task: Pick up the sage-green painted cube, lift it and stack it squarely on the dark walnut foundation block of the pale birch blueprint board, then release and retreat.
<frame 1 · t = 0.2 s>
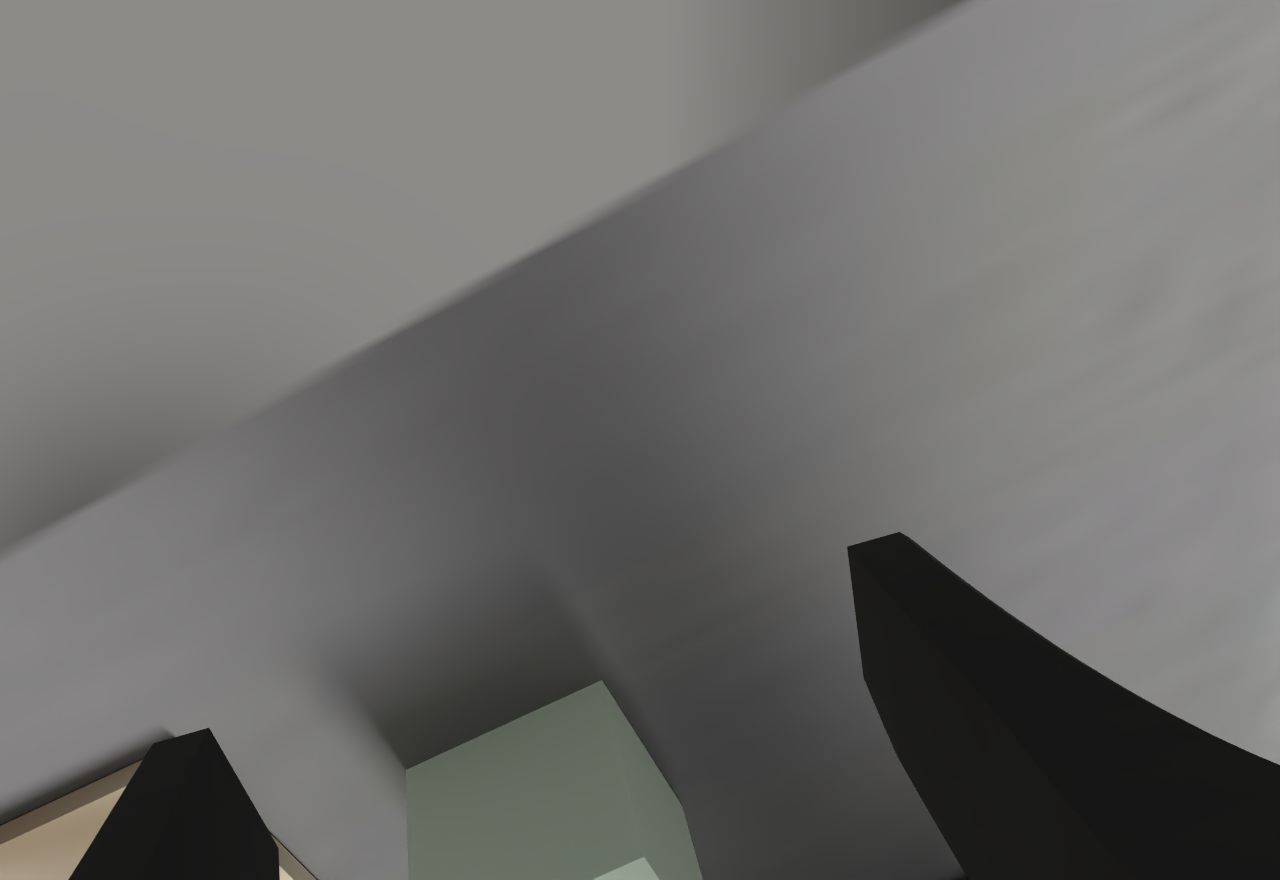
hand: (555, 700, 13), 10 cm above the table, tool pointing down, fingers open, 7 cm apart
sage cube: (549, 786, 28), on the table
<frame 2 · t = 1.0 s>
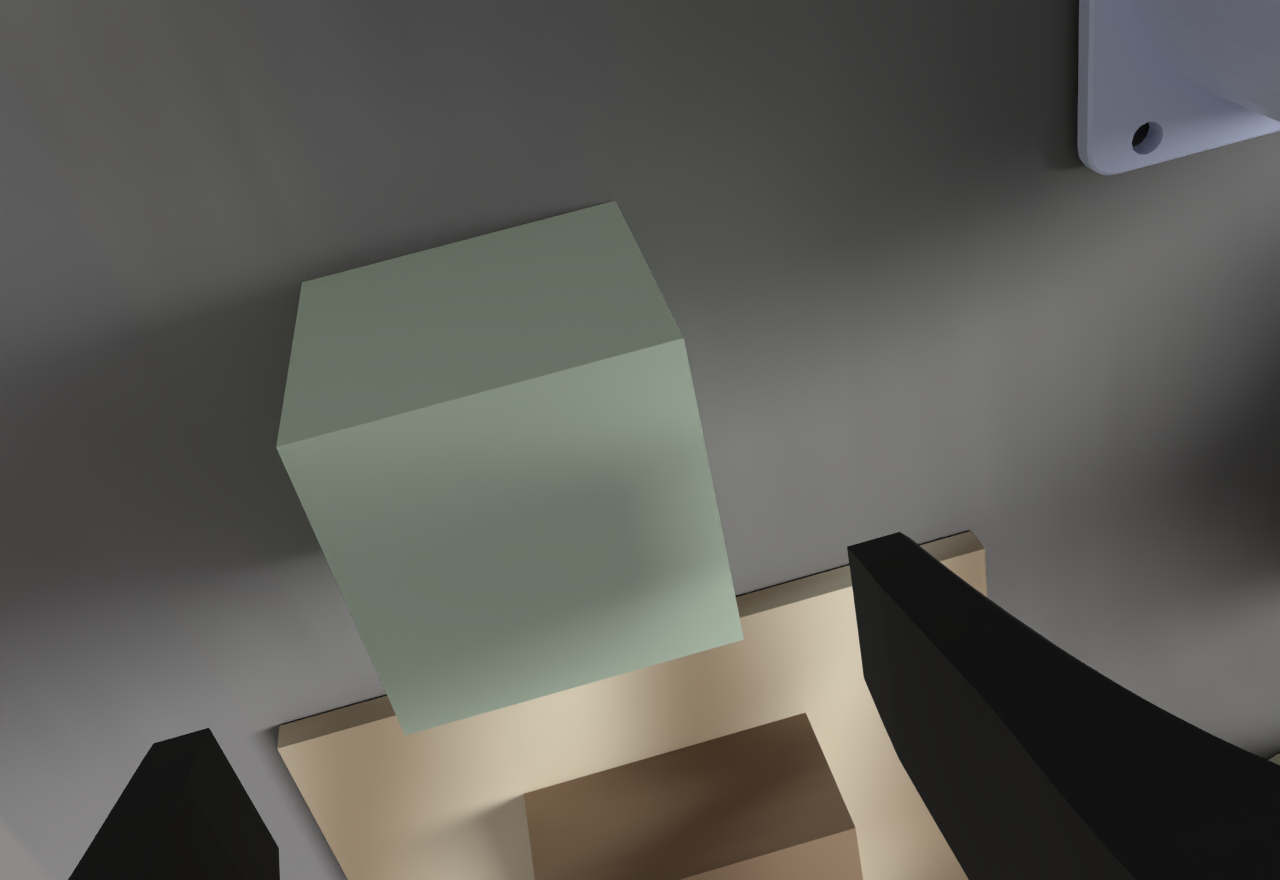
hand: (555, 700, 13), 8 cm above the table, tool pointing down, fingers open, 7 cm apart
sage cube: (501, 375, 19), on the table
baseplate: (684, 823, 26), on the table
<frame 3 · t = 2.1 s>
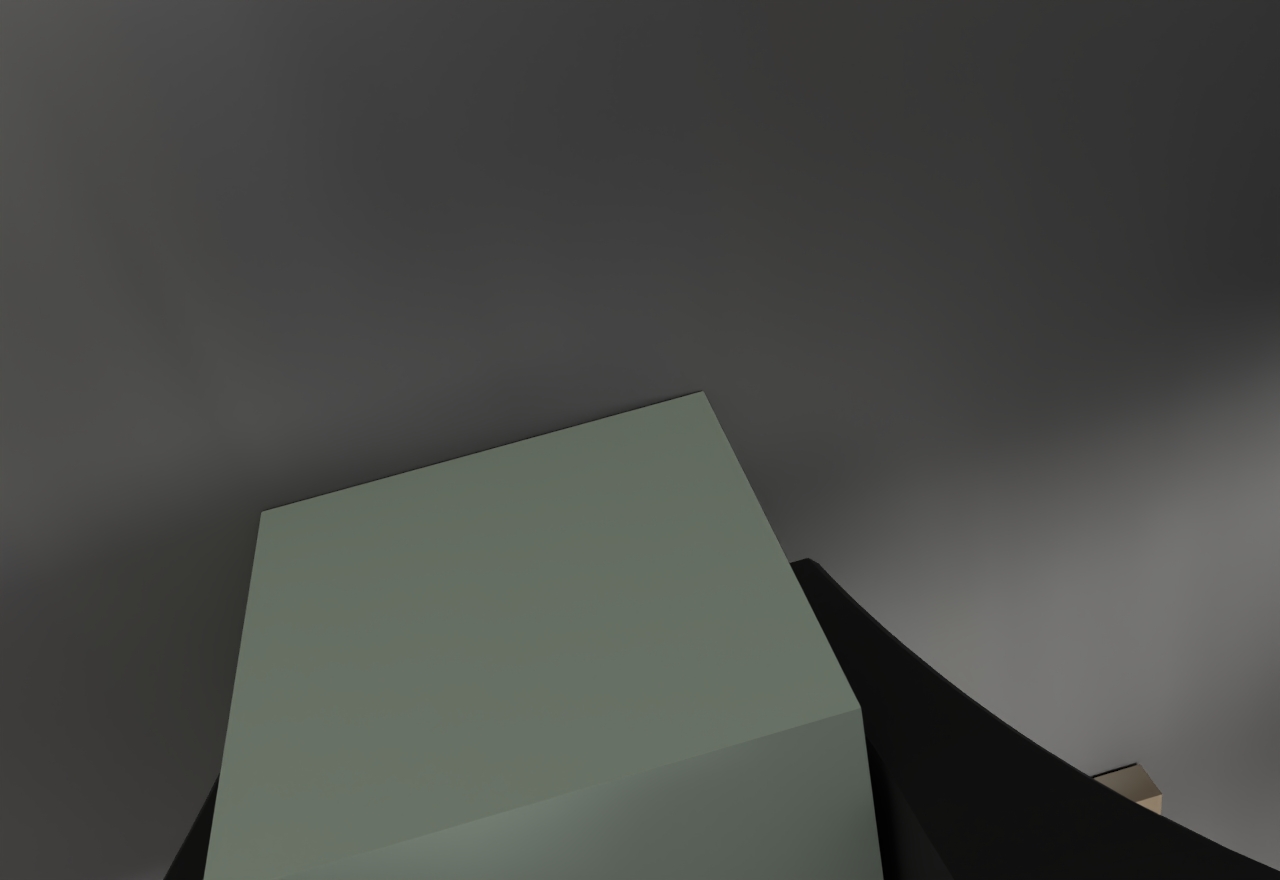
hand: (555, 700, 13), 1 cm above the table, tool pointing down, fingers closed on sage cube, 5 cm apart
sage cube: (539, 618, 14), on the table, touching gripper
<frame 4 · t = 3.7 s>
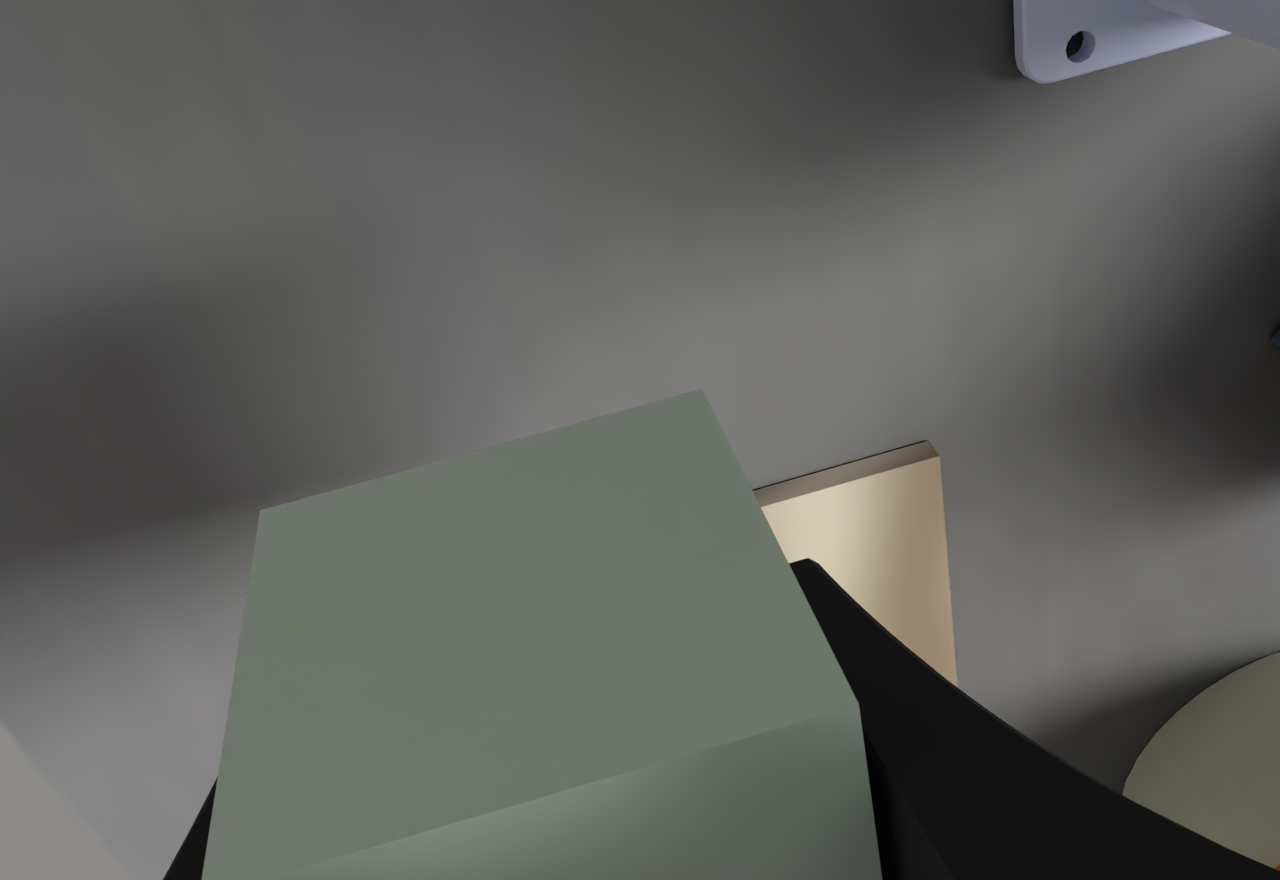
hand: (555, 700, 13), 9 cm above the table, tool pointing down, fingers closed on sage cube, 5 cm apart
reusable coffee cup: (1266, 759, 32), on the table
sage cube: (538, 616, 14), point 8 cm above the table, touching gripper
baseplate: (659, 734, 27), on the table
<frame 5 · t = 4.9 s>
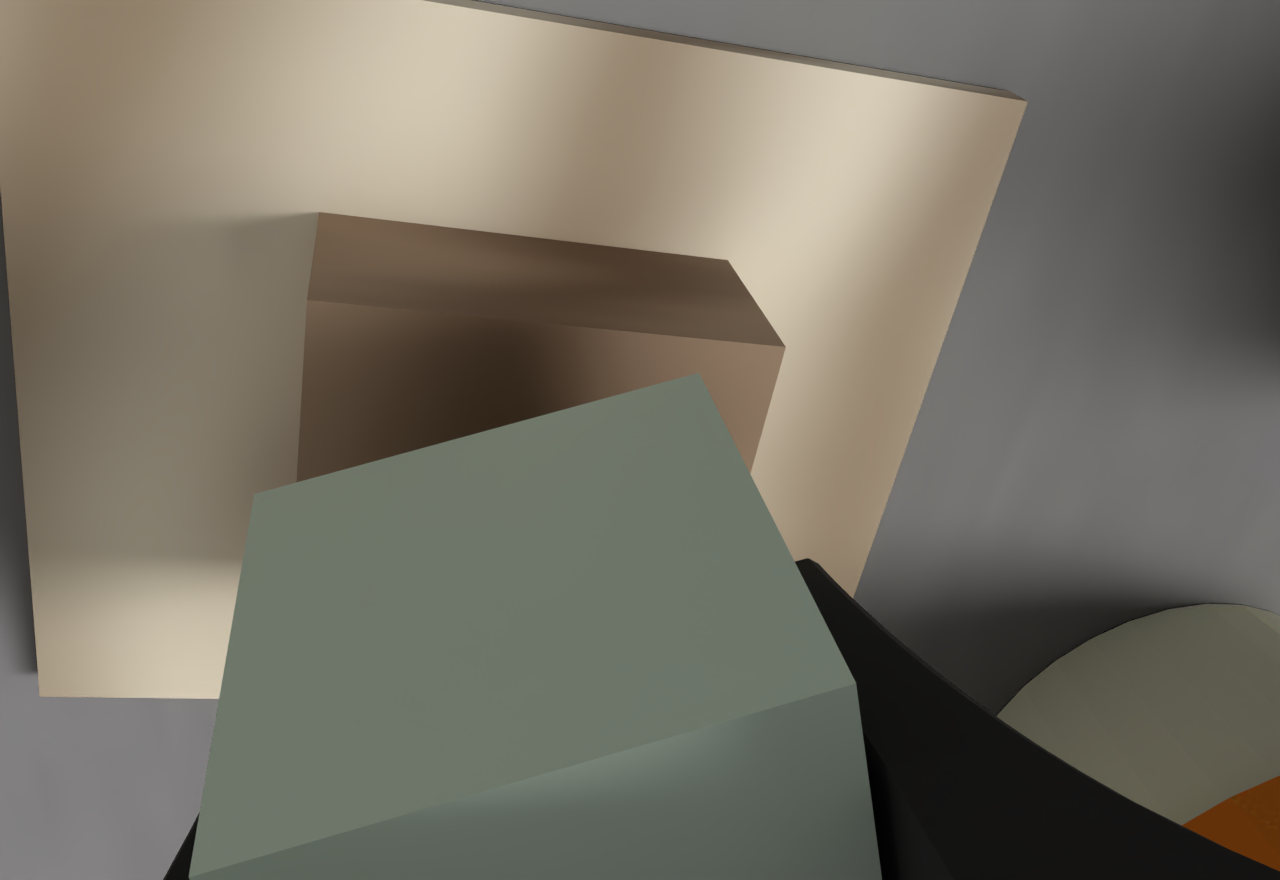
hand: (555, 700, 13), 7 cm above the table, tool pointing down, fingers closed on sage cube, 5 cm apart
reusable coffee cup: (1138, 749, 27), on the table
sage cube: (534, 603, 14), point 6 cm above the table, touching gripper
baseplate: (501, 398, 19), on the table
when the fingers open (6 cm above the table, at t = 5.5 s): sage cube drops 1 cm, resting on baseplate.
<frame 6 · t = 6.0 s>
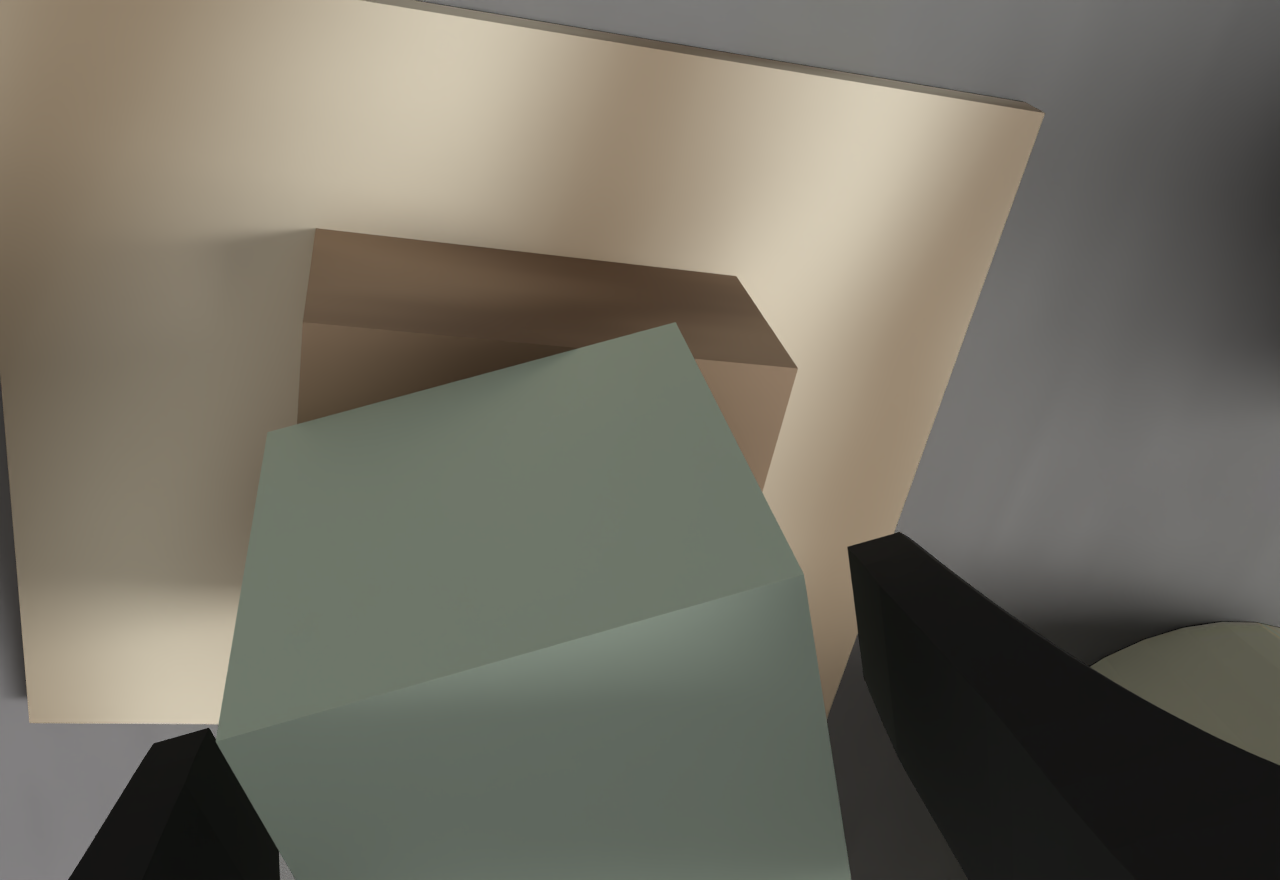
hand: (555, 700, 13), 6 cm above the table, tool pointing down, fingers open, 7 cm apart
reusable coffee cup: (1151, 768, 26), on the table
sage cube: (525, 539, 15), point 4 cm above the table, touching baseplate
baseplate: (503, 416, 18), on the table
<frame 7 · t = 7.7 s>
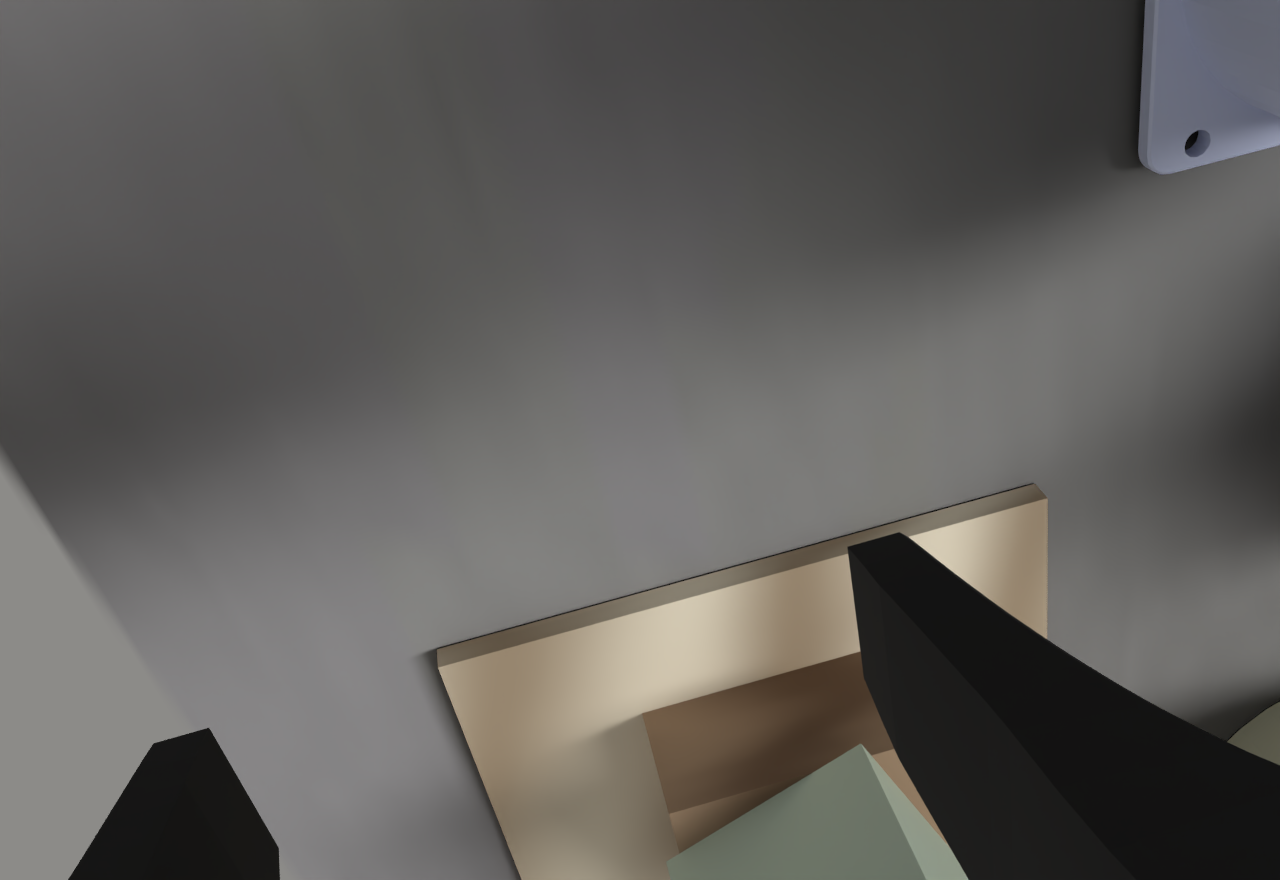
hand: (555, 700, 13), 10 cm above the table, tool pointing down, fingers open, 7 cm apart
sage cube: (816, 858, 26), point 4 cm above the table, touching baseplate
baseplate: (774, 746, 29), on the table
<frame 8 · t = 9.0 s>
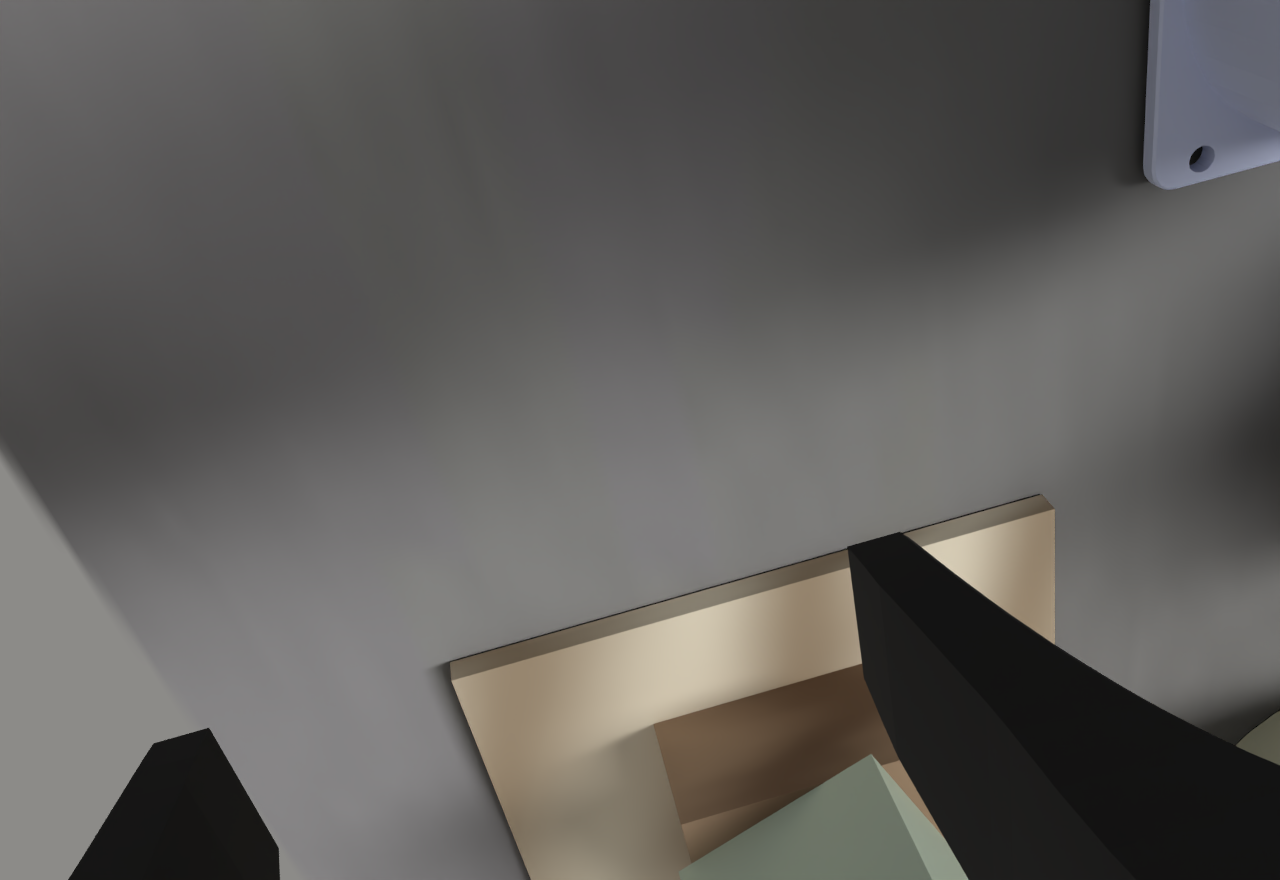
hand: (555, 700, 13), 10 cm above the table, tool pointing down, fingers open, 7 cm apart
sage cube: (827, 867, 26), point 4 cm above the table, touching baseplate
baseplate: (784, 755, 29), on the table
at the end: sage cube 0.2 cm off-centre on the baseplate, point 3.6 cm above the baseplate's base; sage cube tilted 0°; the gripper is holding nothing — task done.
